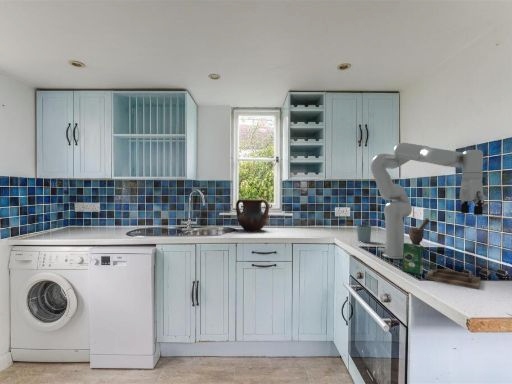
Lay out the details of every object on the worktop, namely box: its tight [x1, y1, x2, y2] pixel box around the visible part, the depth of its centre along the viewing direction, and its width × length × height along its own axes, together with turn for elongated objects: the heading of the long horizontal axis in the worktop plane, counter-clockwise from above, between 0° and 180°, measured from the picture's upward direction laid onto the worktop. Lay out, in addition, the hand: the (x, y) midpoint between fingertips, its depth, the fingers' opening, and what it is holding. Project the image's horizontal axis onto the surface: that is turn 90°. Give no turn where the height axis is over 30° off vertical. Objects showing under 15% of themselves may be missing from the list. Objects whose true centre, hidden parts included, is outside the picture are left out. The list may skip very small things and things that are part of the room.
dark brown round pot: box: [235, 198, 270, 233], centre depth 259 cm, size 32×28×30 cm
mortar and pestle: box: [408, 218, 431, 246], centre depth 183 cm, size 12×9×20 cm
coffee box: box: [402, 242, 424, 276], centre depth 128 cm, size 8×3×13 cm, turn 35°
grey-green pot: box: [356, 224, 372, 243], centre depth 205 cm, size 10×10×12 cm
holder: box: [424, 268, 481, 290], centre depth 118 cm, size 18×14×3 cm
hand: (471, 214), depth 129 cm, fingers open, 9 cm apart
